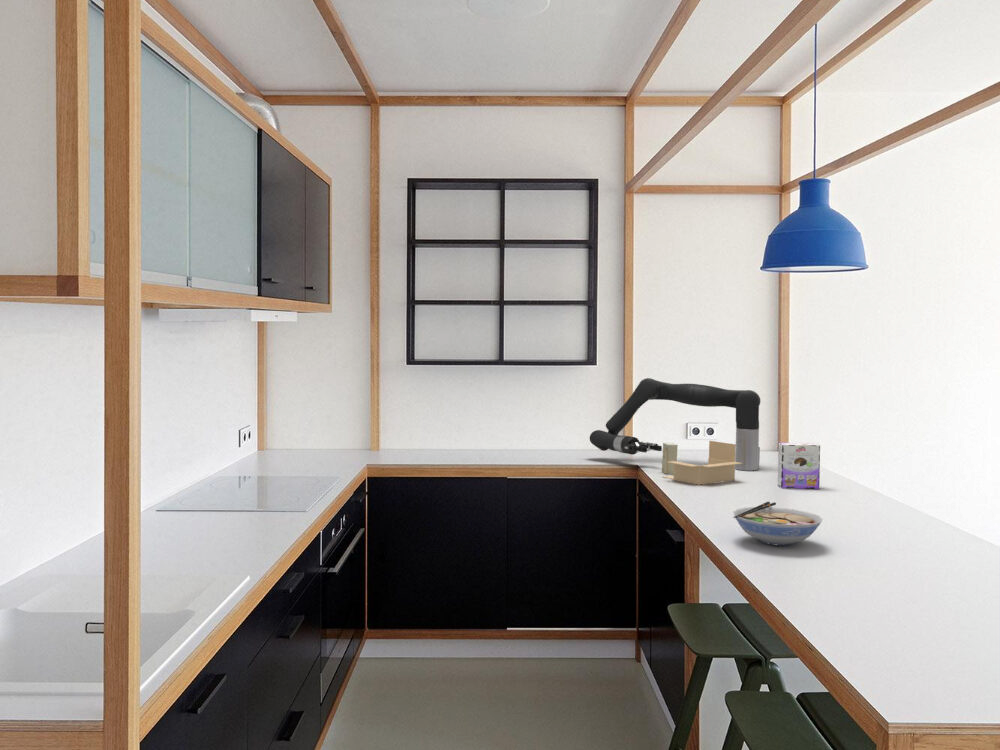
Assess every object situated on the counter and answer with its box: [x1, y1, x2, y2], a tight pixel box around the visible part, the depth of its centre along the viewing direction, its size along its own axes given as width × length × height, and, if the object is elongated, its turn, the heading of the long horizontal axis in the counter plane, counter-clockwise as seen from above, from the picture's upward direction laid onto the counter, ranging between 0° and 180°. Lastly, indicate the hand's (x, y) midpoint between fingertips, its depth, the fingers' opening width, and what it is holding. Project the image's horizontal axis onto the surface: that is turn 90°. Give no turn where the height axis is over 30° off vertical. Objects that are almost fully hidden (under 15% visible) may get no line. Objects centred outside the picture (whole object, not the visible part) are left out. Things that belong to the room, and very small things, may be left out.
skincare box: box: [661, 442, 678, 475], centre depth 331 cm, size 6×4×12 cm
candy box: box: [777, 442, 821, 490], centre depth 302 cm, size 14×6×16 cm, turn 84°
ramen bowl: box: [732, 501, 823, 546], centre depth 219 cm, size 25×23×8 cm
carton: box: [662, 440, 742, 486], centre depth 315 cm, size 24×23×14 cm
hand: (653, 449), depth 338 cm, fingers open, 8 cm apart
